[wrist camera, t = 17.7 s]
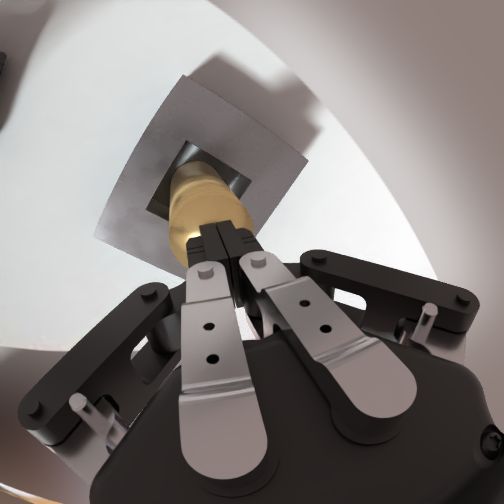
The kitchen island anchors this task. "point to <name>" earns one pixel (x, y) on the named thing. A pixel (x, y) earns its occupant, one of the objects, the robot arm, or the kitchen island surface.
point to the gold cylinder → (200, 205)
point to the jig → (209, 140)
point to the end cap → (2, 59)
